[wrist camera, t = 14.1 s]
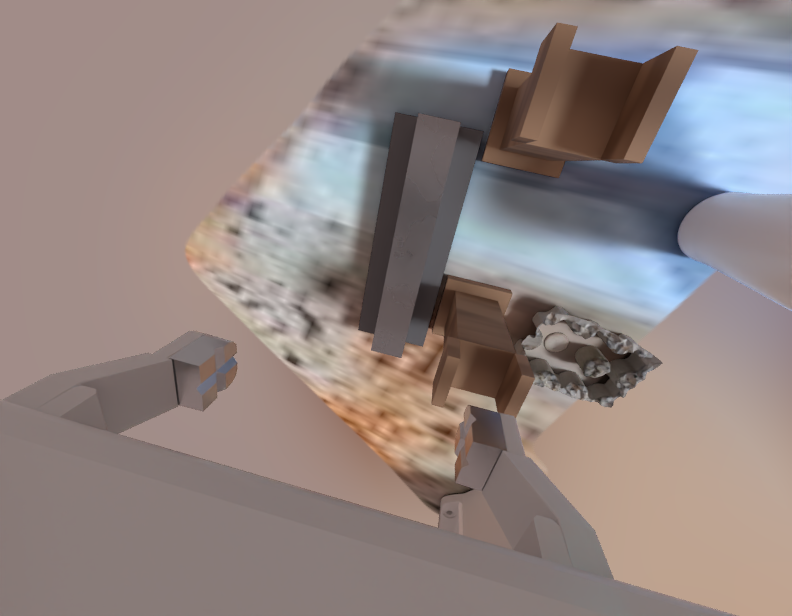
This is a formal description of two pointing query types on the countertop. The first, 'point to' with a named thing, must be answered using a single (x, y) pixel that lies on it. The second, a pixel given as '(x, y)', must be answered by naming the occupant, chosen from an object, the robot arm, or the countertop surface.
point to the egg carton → (588, 360)
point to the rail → (414, 229)
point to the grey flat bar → (443, 228)
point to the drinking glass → (744, 240)
